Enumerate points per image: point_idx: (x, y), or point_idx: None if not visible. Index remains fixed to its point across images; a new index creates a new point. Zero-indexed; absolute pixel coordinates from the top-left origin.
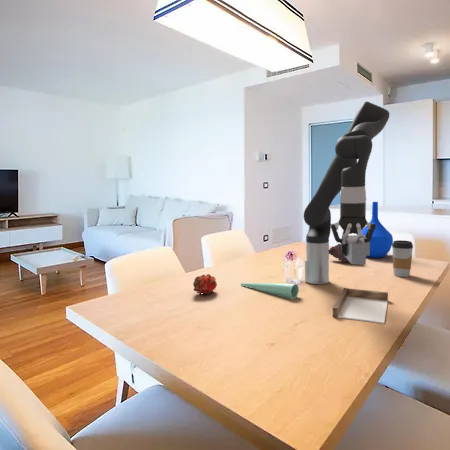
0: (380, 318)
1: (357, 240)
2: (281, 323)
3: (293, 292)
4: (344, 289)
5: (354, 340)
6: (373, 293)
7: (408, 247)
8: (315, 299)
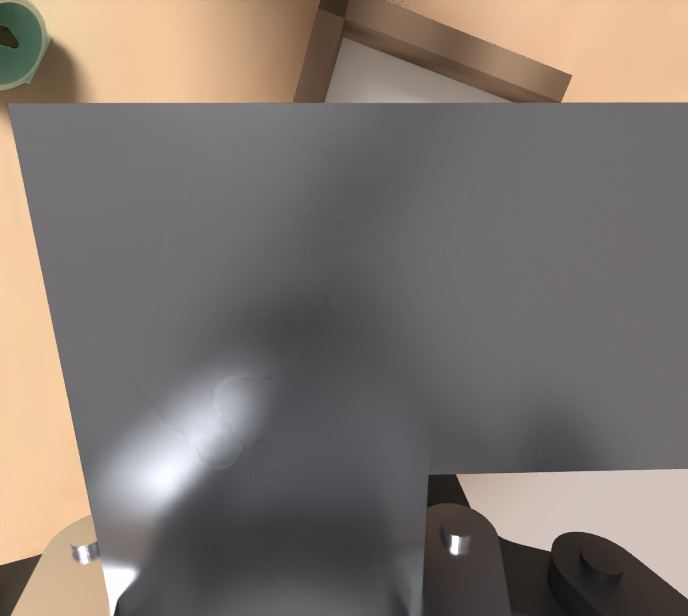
0: None
1: None
2: (35, 412)
3: (10, 2)
4: (326, 16)
5: None
6: (486, 77)
7: None
8: (161, 85)
